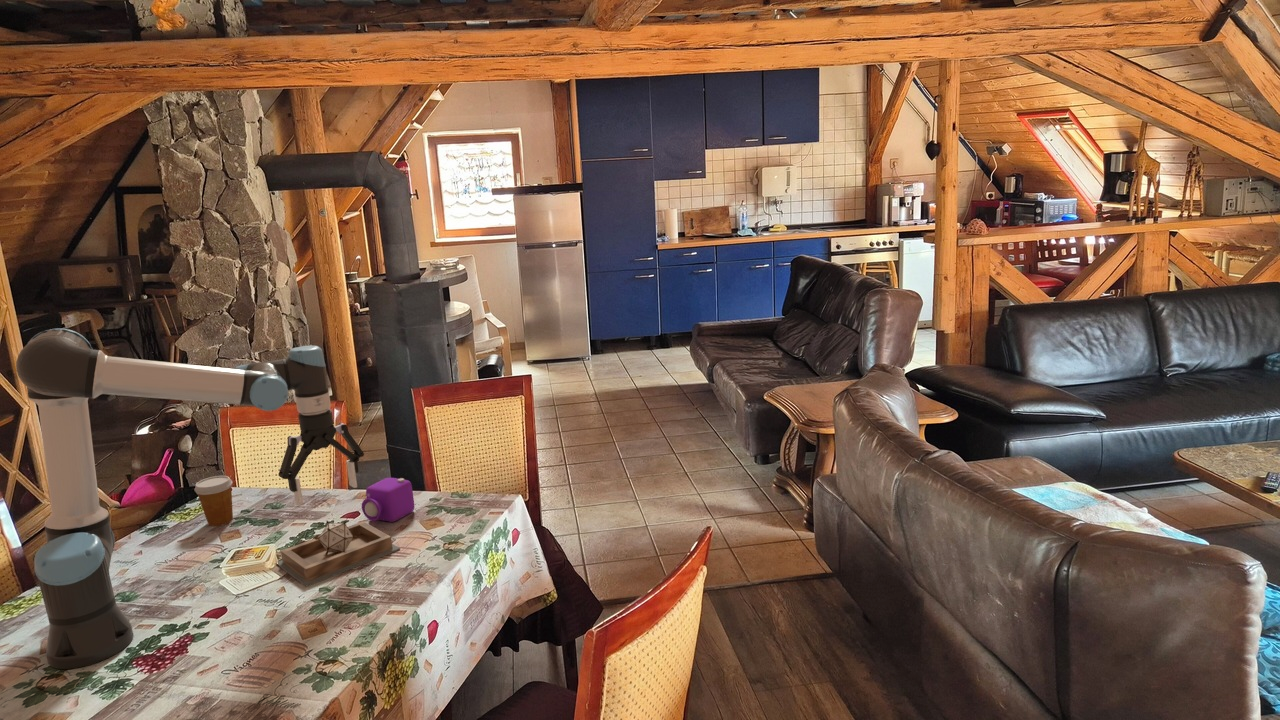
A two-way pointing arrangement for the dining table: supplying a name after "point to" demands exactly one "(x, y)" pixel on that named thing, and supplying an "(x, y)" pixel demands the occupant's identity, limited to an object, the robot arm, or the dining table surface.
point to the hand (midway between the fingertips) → (327, 494)
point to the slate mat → (307, 583)
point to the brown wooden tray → (316, 563)
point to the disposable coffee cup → (216, 499)
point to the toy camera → (388, 500)
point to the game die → (336, 537)
